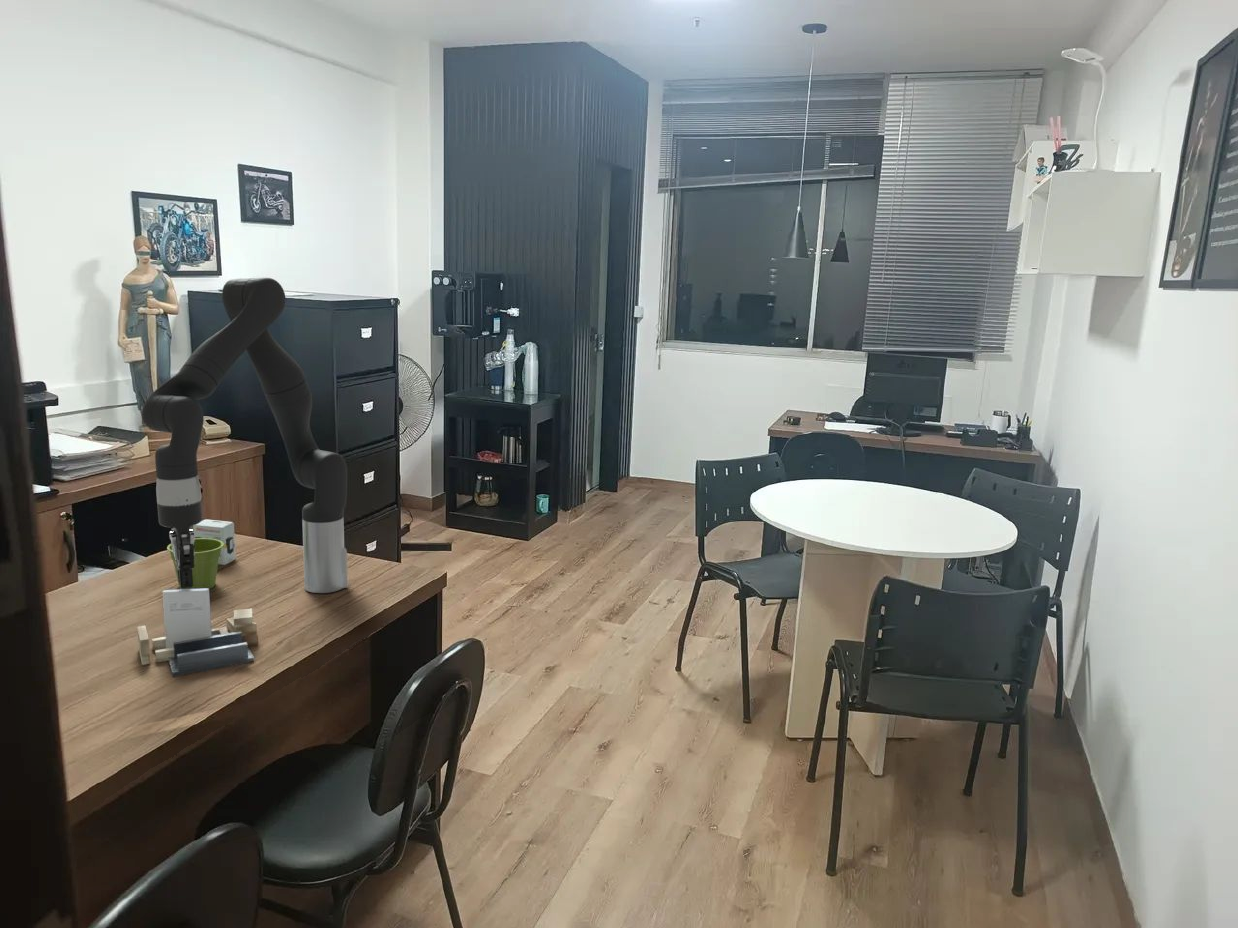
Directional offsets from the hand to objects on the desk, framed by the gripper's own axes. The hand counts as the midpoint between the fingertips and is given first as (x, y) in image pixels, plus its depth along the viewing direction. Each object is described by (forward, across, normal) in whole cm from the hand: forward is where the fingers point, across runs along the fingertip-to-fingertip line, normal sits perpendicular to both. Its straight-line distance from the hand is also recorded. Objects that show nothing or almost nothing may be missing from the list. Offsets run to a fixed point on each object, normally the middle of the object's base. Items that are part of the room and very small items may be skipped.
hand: (185, 584), depth 166 cm
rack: (+14, 0, 0) cm, 14 cm away
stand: (+13, -8, -3) cm, 16 cm away
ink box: (+14, +50, -12) cm, 53 cm away
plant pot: (+14, +34, -6) cm, 37 cm away
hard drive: (+14, 0, 0) cm, 14 cm away
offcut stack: (+14, 0, -10) cm, 17 cm away
